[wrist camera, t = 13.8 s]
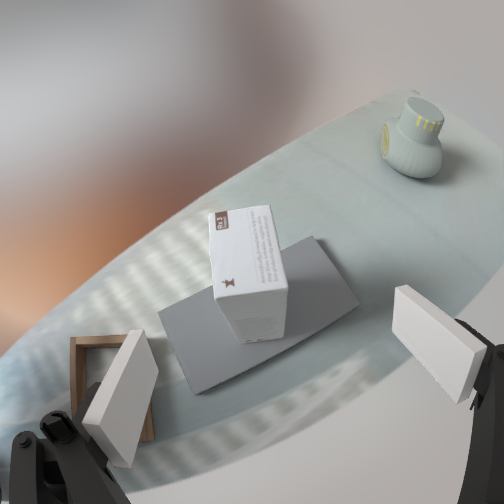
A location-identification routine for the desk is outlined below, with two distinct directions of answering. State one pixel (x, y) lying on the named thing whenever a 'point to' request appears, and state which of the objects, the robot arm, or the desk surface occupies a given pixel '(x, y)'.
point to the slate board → (255, 353)
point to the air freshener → (414, 139)
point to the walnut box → (79, 374)
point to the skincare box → (248, 273)
